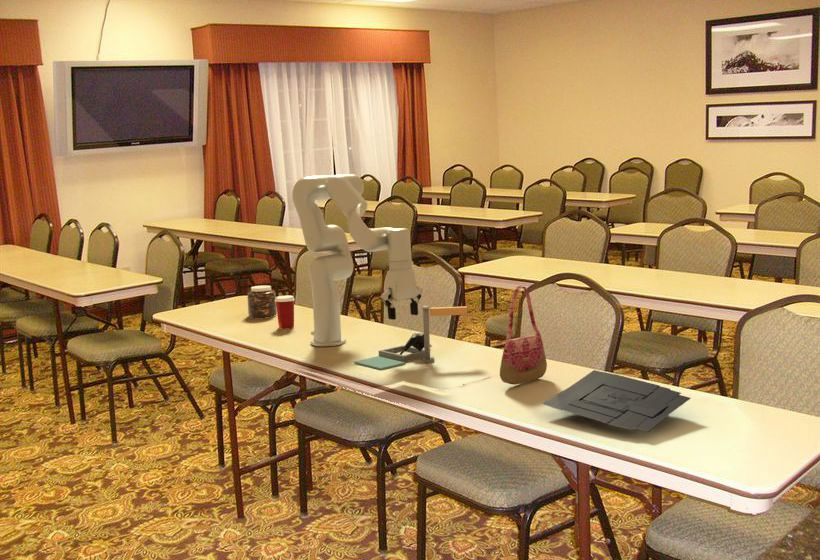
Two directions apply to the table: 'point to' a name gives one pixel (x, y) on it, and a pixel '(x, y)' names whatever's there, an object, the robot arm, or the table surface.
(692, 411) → the table surface
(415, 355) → the plug dock
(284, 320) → the paper cup
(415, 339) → the power plug
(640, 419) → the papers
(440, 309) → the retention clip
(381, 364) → the mat
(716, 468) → the table surface
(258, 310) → the jar
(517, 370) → the shoulder bag
